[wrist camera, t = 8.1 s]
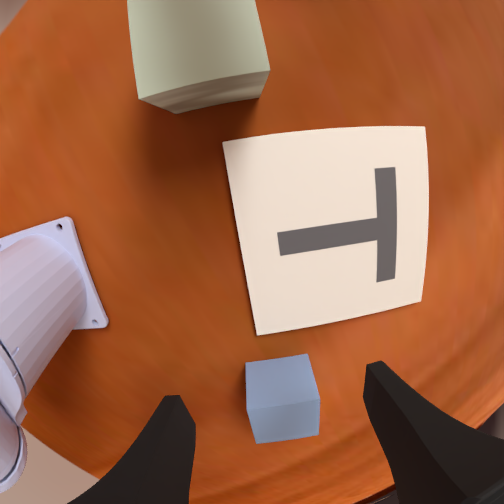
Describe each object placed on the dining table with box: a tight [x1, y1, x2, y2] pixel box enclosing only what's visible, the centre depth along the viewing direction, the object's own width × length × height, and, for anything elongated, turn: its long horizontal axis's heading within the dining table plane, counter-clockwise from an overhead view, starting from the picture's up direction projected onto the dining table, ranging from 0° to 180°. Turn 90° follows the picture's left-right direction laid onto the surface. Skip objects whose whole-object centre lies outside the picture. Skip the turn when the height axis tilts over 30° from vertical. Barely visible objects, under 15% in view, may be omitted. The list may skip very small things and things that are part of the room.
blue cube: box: [246, 354, 320, 444], centre depth 19 cm, size 4×4×4 cm
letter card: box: [222, 126, 429, 335], centre depth 16 cm, size 12×12×1 cm
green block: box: [127, 0, 270, 114], centre depth 10 cm, size 4×4×6 cm
